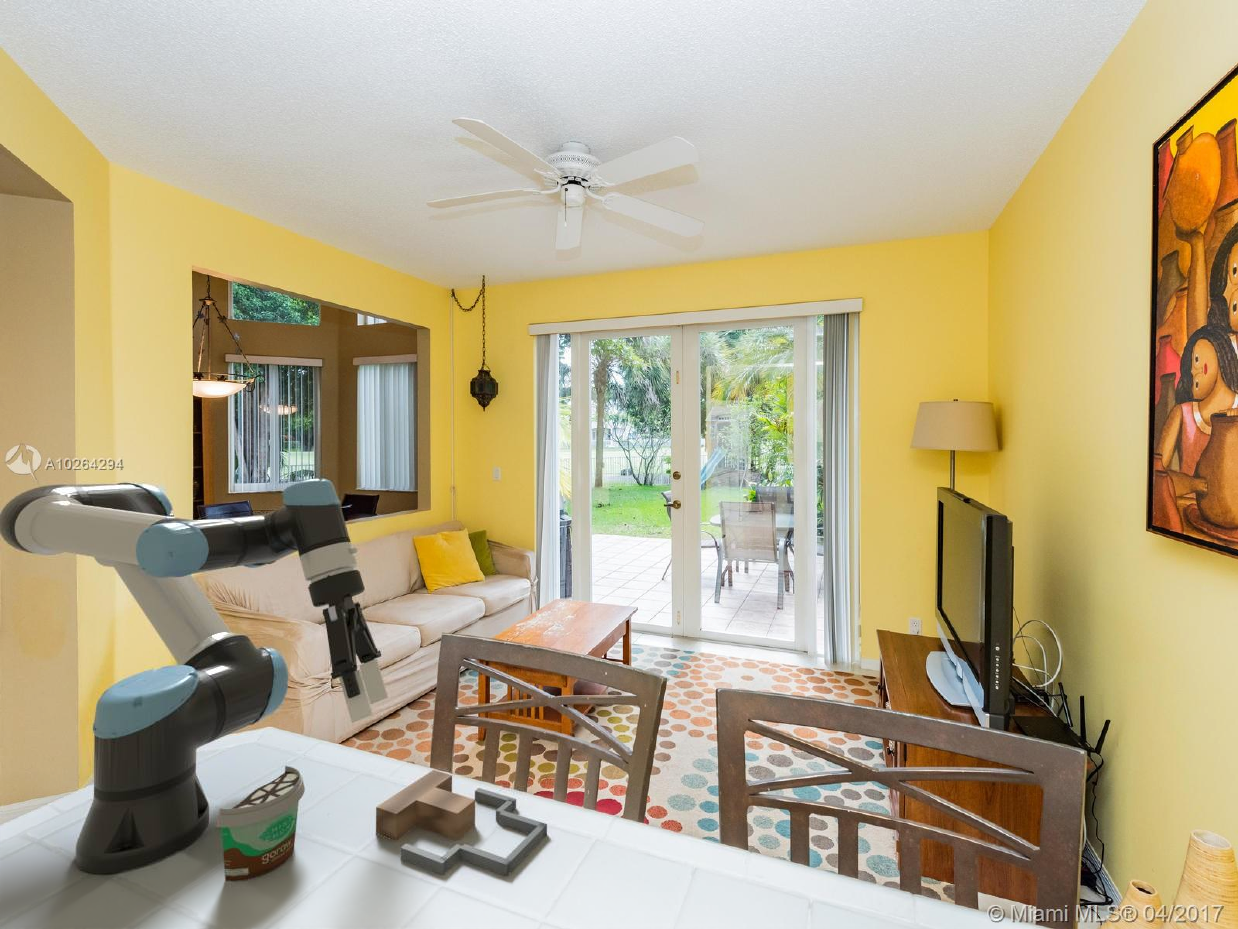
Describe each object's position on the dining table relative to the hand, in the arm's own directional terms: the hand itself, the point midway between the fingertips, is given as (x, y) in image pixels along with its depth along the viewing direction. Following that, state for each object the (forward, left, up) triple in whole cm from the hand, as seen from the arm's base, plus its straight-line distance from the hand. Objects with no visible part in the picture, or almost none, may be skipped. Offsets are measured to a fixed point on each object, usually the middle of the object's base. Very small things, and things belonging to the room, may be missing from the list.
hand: (371, 709), depth 89 cm
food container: (-6, -12, -18) cm, 22 cm away
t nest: (+18, +5, -18) cm, 25 cm away
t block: (+8, +5, -18) cm, 20 cm away
